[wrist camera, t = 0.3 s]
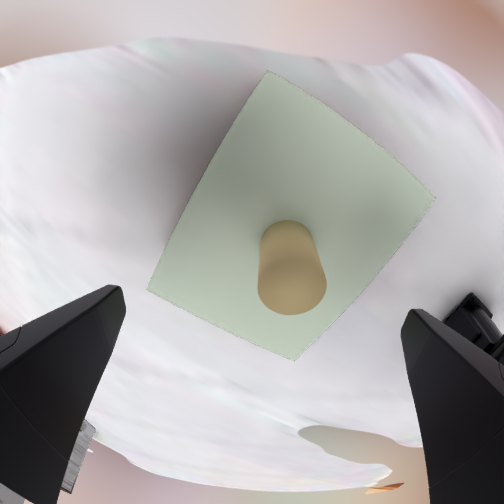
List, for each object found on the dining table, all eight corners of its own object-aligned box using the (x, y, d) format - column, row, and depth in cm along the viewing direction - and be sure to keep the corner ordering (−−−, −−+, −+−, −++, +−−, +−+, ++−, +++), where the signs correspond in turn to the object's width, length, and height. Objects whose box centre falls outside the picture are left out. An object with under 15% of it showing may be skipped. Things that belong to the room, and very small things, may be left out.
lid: (426, 191, 14) (477, 224, 10) (293, 349, 20) (297, 407, 15) (267, 73, 12) (267, 49, 8) (152, 279, 18) (120, 331, 13)
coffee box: (69, 424, 42) (44, 482, 27) (49, 405, 39) (20, 465, 25) (97, 429, 40) (71, 495, 26) (75, 409, 37) (44, 478, 23)
